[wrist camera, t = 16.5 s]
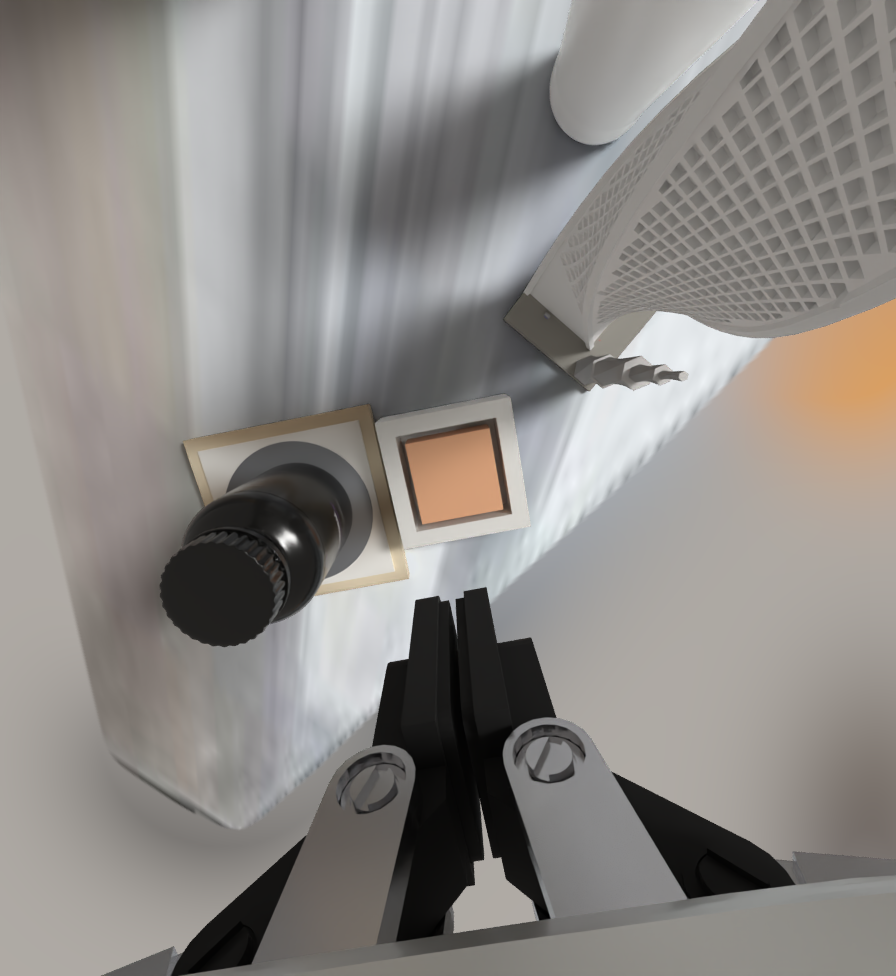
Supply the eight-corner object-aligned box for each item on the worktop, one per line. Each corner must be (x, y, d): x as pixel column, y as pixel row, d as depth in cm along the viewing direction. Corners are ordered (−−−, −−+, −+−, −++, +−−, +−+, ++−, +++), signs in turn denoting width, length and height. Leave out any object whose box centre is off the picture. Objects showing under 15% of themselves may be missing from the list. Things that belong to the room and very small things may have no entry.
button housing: (381, 417, 31) (374, 423, 28) (504, 393, 30) (510, 396, 27) (407, 533, 33) (403, 549, 30) (523, 511, 32) (530, 526, 29)
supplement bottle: (375, 527, 31) (334, 625, 20) (290, 576, 32) (203, 698, 21) (315, 438, 30) (232, 488, 18) (227, 493, 31) (95, 573, 19)
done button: (407, 439, 30) (404, 444, 28) (486, 423, 29) (489, 428, 28) (423, 514, 31) (422, 524, 29) (499, 500, 31) (503, 509, 29)
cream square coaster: (189, 439, 31) (180, 442, 30) (369, 403, 30) (367, 405, 29) (244, 603, 34) (237, 611, 33) (409, 573, 33) (408, 580, 32)
